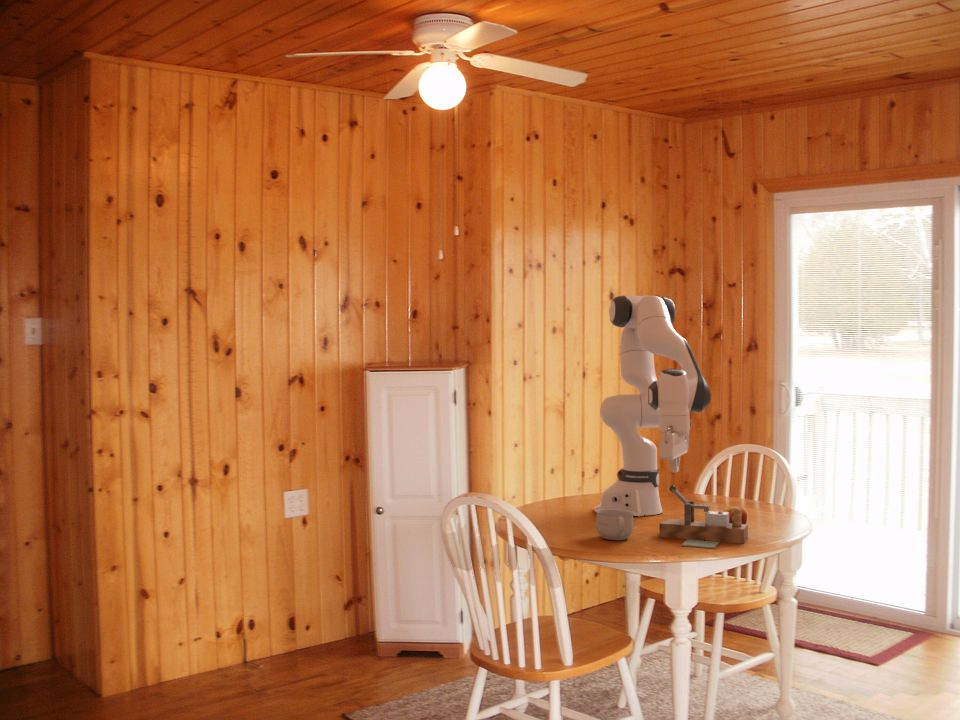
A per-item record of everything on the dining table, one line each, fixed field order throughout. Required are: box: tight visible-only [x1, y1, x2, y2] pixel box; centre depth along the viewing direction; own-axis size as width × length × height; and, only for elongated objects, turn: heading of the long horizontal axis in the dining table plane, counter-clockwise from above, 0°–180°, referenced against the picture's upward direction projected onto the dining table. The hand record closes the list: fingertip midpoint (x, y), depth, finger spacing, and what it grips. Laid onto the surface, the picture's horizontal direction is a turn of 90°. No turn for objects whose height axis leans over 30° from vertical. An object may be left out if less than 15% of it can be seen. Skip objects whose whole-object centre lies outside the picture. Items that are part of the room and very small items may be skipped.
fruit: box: [722, 505, 748, 525], centre depth 286 cm, size 8×8×8 cm
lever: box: [669, 484, 711, 513], centre depth 276 cm, size 12×3×7 cm, turn 65°
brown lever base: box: [658, 500, 749, 544], centre depth 275 cm, size 24×7×10 cm, turn 65°
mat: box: [681, 539, 720, 549], centre depth 266 cm, size 9×7×1 cm
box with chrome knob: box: [704, 510, 729, 527], centre depth 273 cm, size 6×4×4 cm
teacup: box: [595, 509, 634, 541], centre depth 275 cm, size 14×11×8 cm
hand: (674, 471), depth 278 cm, fingers closed
